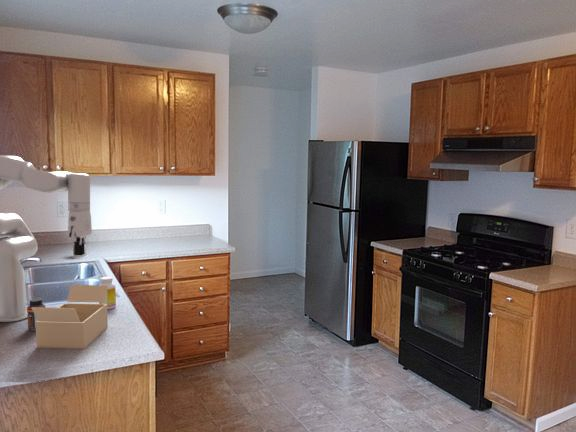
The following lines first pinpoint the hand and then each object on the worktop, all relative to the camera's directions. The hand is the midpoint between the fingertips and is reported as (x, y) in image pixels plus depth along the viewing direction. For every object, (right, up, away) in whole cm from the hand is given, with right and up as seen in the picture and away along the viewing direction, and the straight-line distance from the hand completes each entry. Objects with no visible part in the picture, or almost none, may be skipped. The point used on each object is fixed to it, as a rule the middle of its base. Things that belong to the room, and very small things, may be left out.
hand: (79, 254), depth 178 cm
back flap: (+3, -15, -1) cm, 15 cm away
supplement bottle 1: (-14, -28, -4) cm, 31 cm away
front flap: (+3, -18, -24) cm, 30 cm away
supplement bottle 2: (+2, -25, +22) cm, 33 cm away
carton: (+3, -28, -11) cm, 31 cm away
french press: (-53, -11, +119) cm, 130 cm away
